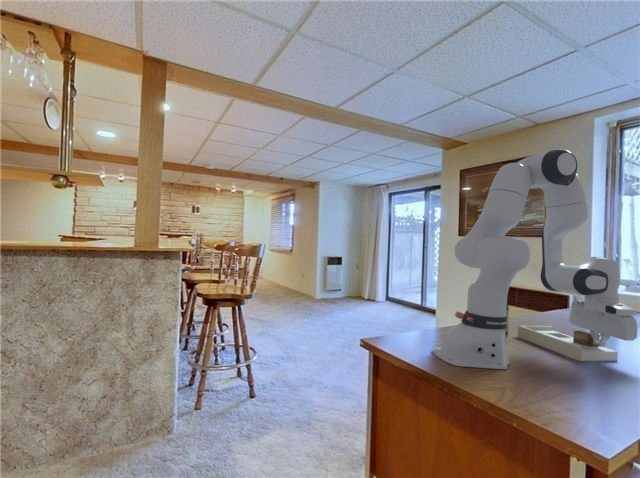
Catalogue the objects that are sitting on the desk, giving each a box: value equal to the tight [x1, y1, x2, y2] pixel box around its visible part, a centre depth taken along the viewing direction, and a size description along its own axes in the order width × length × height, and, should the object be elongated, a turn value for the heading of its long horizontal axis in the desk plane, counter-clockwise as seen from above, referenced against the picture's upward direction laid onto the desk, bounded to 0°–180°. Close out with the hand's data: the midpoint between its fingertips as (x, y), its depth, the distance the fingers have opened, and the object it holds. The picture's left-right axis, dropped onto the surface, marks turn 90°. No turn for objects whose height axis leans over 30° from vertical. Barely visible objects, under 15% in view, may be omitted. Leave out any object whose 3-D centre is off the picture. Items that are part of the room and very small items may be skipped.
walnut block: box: [572, 330, 601, 347], centre depth 115 cm, size 5×5×4 cm
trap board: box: [517, 325, 619, 362], centre depth 119 cm, size 15×26×4 cm, turn 9°
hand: (599, 345), depth 110 cm, fingers closed
